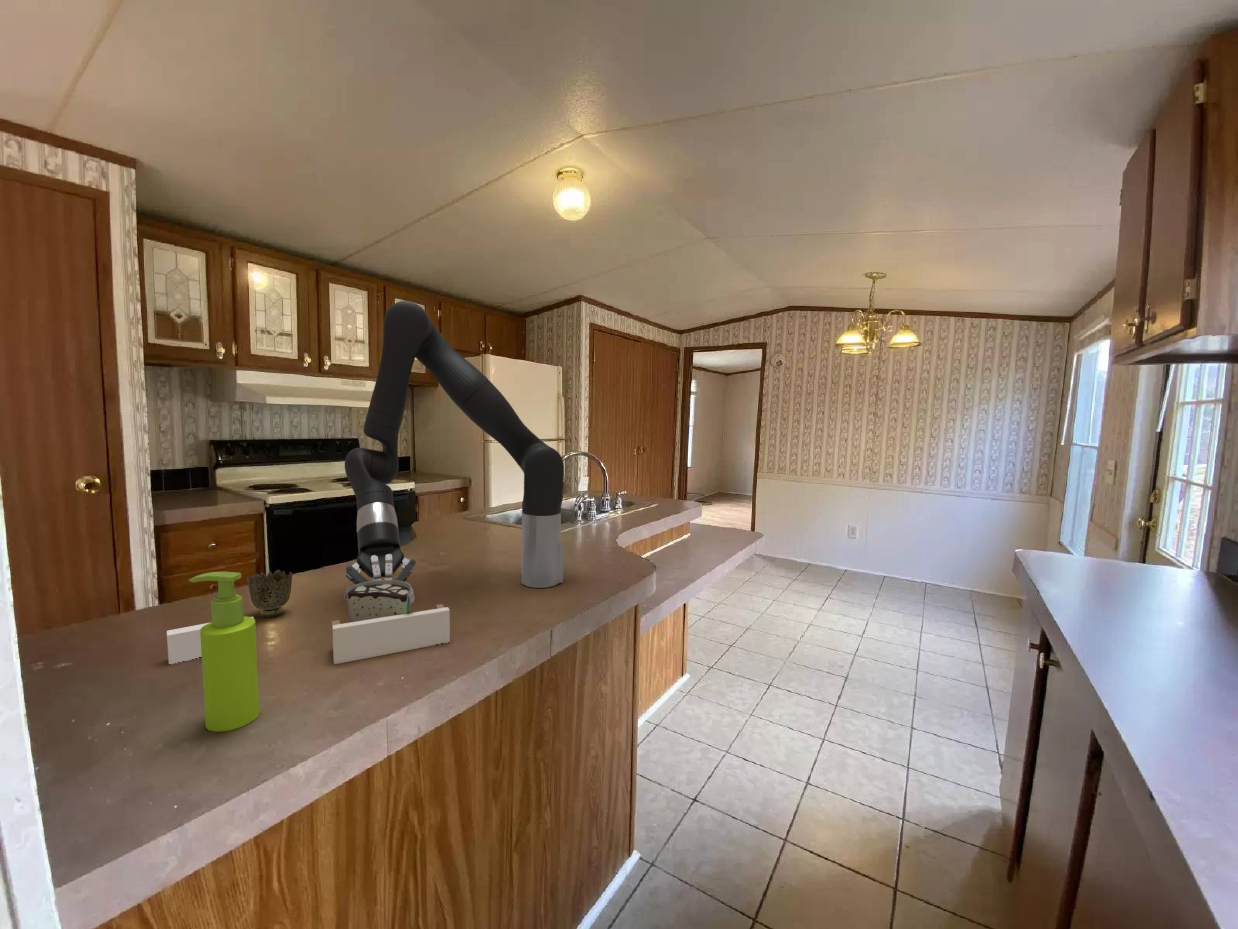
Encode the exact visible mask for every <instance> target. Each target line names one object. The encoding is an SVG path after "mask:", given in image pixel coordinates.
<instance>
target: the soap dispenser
mask: <svg viewBox="0 0 1238 929" xmlns="http://www.w3.org/2000/svg"><path fill="white" fill-rule="evenodd" d="M241 578H242V573H241V572H233V571H210V572H205V573H202V574H198V575H196V576H194V577H192V578H189V579H188V581H189V582H190V583H197V582H207V581H208V582H210V581H211V582H217V587H218V589H217V591H218V596H216V597H215V598H213V599H212V600H211V602H210V607H211V608H210V609H211V613H210V614H211V621H210V622H211V623H210V622H207V623H208V624H206V625H205V626H203V627H202V628H201V629H200V638H201V655H202V658H201V669H202V682H203V683H202V686H203V703H204V704H203V705H204V706H203V707H204V718H205V719H204V721H205V728H206V729H207V730H208V731H210V732H217V733H220V732H221V733H222V732H230V731H233V730H237V729H239V728H242V727H245V726H246V725H249V724H251V723H252V722H254V721H255V720H257V718H258V717H259V715H260V711H261V710H260V709H261V707H260V692H259V691H260V690H259V668H258V665H259V664H258V650H257V649H258V648H257V629H256V628H257V625H256V619H255V618H254V617H253V616H245V615H244V597H243V595H241V594H240V595H239V594H237V593H236V592H235V591H236V590H235V589H236V588H235V581H237V580H239V579H241ZM252 617H253V618H252Z"/></svg>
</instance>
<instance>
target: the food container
mask: <svg viewBox="0 0 1238 929" xmlns="http://www.w3.org/2000/svg"><path fill="white" fill-rule="evenodd" d="M368 581H369V582H363V583H359V584H356V585H355V584H353V585H351V586H348V587H345V591H344V595H343V600H346V602H347V603H346V604H347V608H348V609H347V610H348V618H349V623H351V622H357V621H363V620H369V619H376V618H382V617H388V616H395V615H401V614H407V613H411V612H410V611H411V605H412V603H414V601H415V593H414V589H413V588H412V585H411V584H410V583H408V582H406V581H405V582H403V581H398V580H396V579H392V580H384V579H381V580H376V581H372V580H368Z"/></svg>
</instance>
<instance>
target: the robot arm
mask: <svg viewBox="0 0 1238 929" xmlns="http://www.w3.org/2000/svg"><path fill="white" fill-rule="evenodd" d="M382 339H383V341H382V349H381V350H382V351H381V358H380V363H379V368H378V372H377V377H376V381H375V384H374V388H373V390H372V395H371V398H370V401H369V405H368V408H367V413H366V416H365V421H364V424H363V429H362V430H363V434H364V435H365V436H366V437H368V438H370V439H372V440H374V441H377V442H380V443H381V446H382V450H377V449H369V448H366V447H356V448H355V447H354V448H353V449H351V450H350V451H348V453H347V454H346V456H345V460H344V470H345V474H346V477H347V480H348V482H349V484H350V486H351V488H352V490H353V494H354V496H355V498H356V510H357V511H356V512H357V516H356V533H357V548H358V555H357V557H356V562H354V564H352V565H348V566H346V567H345V577H346V578H347V579H348V580H349V581H351V582H352V583H353V585H356V584H359V583H363V582H369V581H370V580H368V579H367V578H366V577H365V576H364V575H362V574H361V571H362V572H363V573H365V575H366V576H368V577H369V578H371V581H376V580H382V578H383V580H393V576H394V574H396V572H397V571H398V569H399V568H400V566H401V565H402V566H401V570H402V571H401V572H400V573H399V574H398V576H397V577H396V579H395V580H398V581H403V582H406V581H407V580H408V578H409V577H410V575H412V573H413V572H414V570H415V568H416V565H417V564H416V563H417V561H416V560H415V559H408V558H406V557H405V555H404V552H403V551H402V549H401V542H400V534H399V525H398V517H397V512H396V509H395V502H394V501H395V500H394V493H393V490H392V488H391V487H390V486H389V485H388V484H390V483H392V482H394V480H395V478H396V477H397V476H398V473H399V453H398V452H399V451H398V450H399V446H398V445H399V433H400V429H401V425H402V422H403V418H404V413H405V410H406V404H407V399H408V389H409V386H410V385H409V384H410V378H411V375H412V369H413V366H414V362H415V359H416V360H417V361H418V362H420V363H421V365H423V366H424V367H425V368H426V369H427V370H428V371H429V372H430V373H431V374H432V375H433V377H434V378H435V380H436V381H437V382H438V384H439V386H440V387H441V388H442V390H443V391H444V392H445V393H446V394H447V396H448V397H449V398H450V400H452V401H453V403H454V404H455V405H456V406H457V408H459V409H460V410H461V411H462V412H463V413H464V414H465V415H466V416H467V417H468V418H469V419H470V420H471V421H472V422H473V423H474V424H475V425H476V426H477V427H478V428H480V429H481V430H482V431H483V432H484V433H486V434H487V435H488V436H490V437H491V438H492V439H494V440H495V441H496V442H497V443H499V444H500V445H501V446H502V447H503V448H504V450H505V451H507V453H508V454H509V456H511V458H513V460H514V461H515V462H516V464H517V465H518V466H519V468H520V470H522V473H523V496H522V497H523V498H522V503H521V574H520V578H521V584H522V585H524V586H526V587H528V588H529V587H530V588H538V589H540V588H541V589H543V588H550V587H554V586H558V585H559V584H563V582H564V551H565V550H564V544H563V543H562V542H561V536H562V535H561V531H562V530H561V525H562V524H561V516H562V514H561V513H562V504H563V499H564V486H565V484H564V482H565V481H564V480H565V464H564V460H563V456H562V455H561V453H560V452H559V451H557V450H556V449H555V448H553V447H551V446H549V445H548V444H546V443H545V442H544V441H543V440H541V439H540V438H539V437H538V436H537V435H536V434H535V433H533V431H531V430H530V428H528V427H527V426H526V425H525V423H524V422H523V421H522V420H521V418H520V417H519V416H518V413H517V412H516V411H515V409H514V408H513V407H512V405H511V404H510V402H509V401H508V399H506V397H505V396H504V394H503V393H501V392H502V391H500V390H499V389H498V388H497V387H496V386H495V385H494V384H493V383H492V382H491V381H490V379H489V378H488V377H486V376H485V374H484V373H483V372H481V371H480V370H479V369H478V368H477V367H476V366H475V365H473V364H472V363H471V362H470V361H468V360H467V359H466V358H464V357H463V356H462V355H461V354H459V353H458V352H457V351H456V350H455V349H454V348H453V347H452V346H451V345H450V343H448V341H447V340H446V339H445V338H444V336H443V335H442V334H441V333H440V332H439V330H438V329H437V327H435V325H434V323H433V322H432V321H431V318H430V317H429V315H428V314H427V312H426V310H425V309H424V308H423V307H421V305H419V304H417V303H416V302H414V301H410V300H402V301H398V302H395V303H394V304H392V305H390V307H388V309H387V310H386V312H385V314H384V318H383V338H382Z"/></svg>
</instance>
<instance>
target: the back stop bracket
mask: <svg viewBox="0 0 1238 929" xmlns="http://www.w3.org/2000/svg"><path fill="white" fill-rule="evenodd" d="M450 616H451V612H450V608H449V607H448V606H447V607H445V606H444V604H443V603H441V604H440V603H439V604H435V608H433V609H426V610H420V611H414V612H410V613H407V614H401V615H395V616H388V617H382V618H376V619H369V620H363V621H357V622H351V623H350V622H345V623H341V621H340V619H338V620H332V621H331V640H332V641H331V642H332V644H331V645H332V656H333V665H339V664H345V663H348V662H354V661H359V660H364V659H369V658H375V657H380V656H385V655H392V654H396V653H401V652H406V651H412V650H416V649H422V648H427V647H433V646H436V644H438V645H442V644H441V643H443V644H448V642H449V643H451V631H450V630H451V622H450V621H451V617H450Z"/></svg>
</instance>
